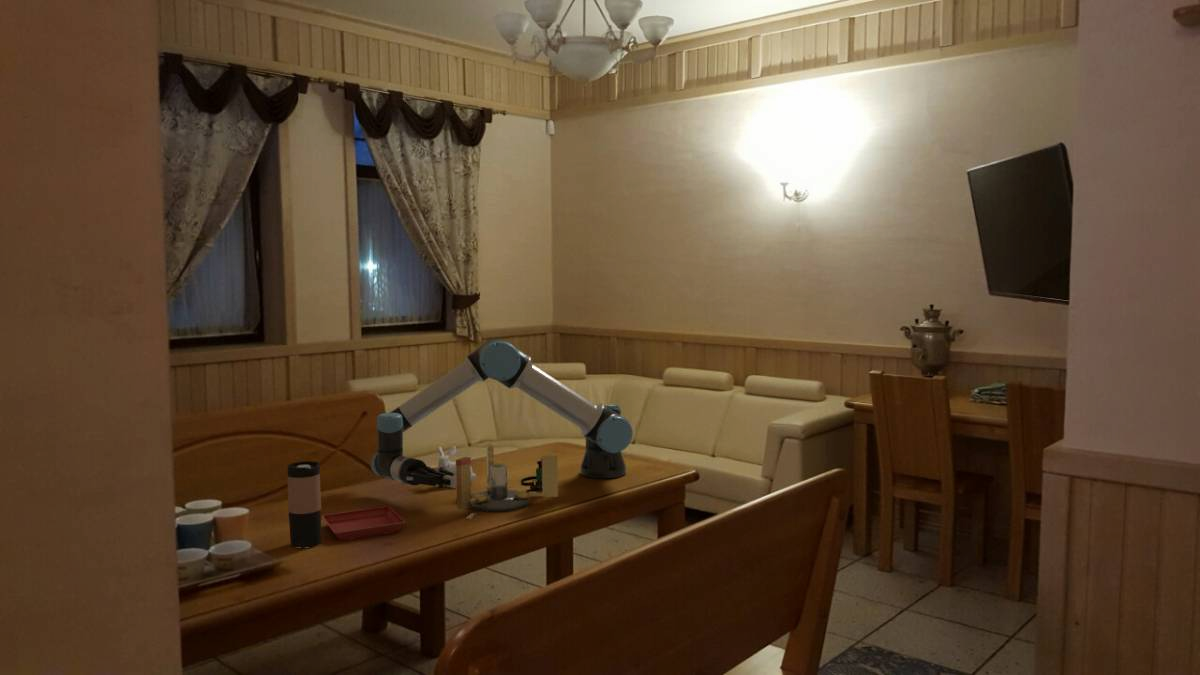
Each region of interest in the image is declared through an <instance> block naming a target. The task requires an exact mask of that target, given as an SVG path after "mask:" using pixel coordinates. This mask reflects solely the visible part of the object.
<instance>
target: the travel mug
mask: <svg viewBox="0 0 1200 675" xmlns="http://www.w3.org/2000/svg"><path fill="white" fill-rule="evenodd" d="M320 474H321V473H320V463H319V462H317V461H309V460H307V461H297V462H291V463H289V464H287V499H288V500H287V503H288V504H287V506H288V508H287V509H288V522H289V523H288V524H289V536H290V537H289V539H290V546H291V547H292V546H293V547H301V548H300V549H306V548H305V547H311V548H313V547H312V546H315V547H317V546H319V545H321V543H322V502H321V501H322V500H321V496H322V495H321V477H320V476H321V475H320ZM318 544H319V545H318ZM316 545H317V546H316ZM293 547H292V548H293Z"/></svg>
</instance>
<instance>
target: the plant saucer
mask: <svg viewBox="0 0 1200 675" xmlns="http://www.w3.org/2000/svg"><path fill="white" fill-rule="evenodd" d="M321 518H322V519H323V520H324V522H325V523H326V524H327V526H328V527H329V529H330V530H331V532H332V533H333V534H334V536H335V537H336V538H337V539H338V540H339V541H345V540H344V539H349V540H352V539H351V538H356V539H359V538H358V537H362V538H366V537H365V536H369V537H372V536H371V535H376V536H379V535H378V534H383V535H386V534H385V533H390V534H394V533H393V532H396V533H398V531H400V530H401V529H402V527H403V526H404V525H405V524H406V520H404V518H402V517H401V516H400V515H399V514H398V513H397V512H396V511H395V510H394V509H393V508H392V507H391V506H390V505H389V506H388V505H385V506H379V507H371V508H365V509H356V510H350V511H345V512H344V511H342V512H335V513H331V514H329V513H328V514H324V515H321Z"/></svg>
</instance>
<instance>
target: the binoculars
mask: <svg viewBox="0 0 1200 675" xmlns="http://www.w3.org/2000/svg"><path fill="white" fill-rule="evenodd" d="M536 464H537V466H538V467H537V468H535V473H536V474H535V476H534V475H533V476H527V477H524V478H522V479H520V485H521V486H525V487H529V489H525V491H528V492H538V491H542V457H541V458H540V460H538V461H536ZM527 481H531V482H527Z"/></svg>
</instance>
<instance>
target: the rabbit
mask: <svg viewBox="0 0 1200 675" xmlns="http://www.w3.org/2000/svg"><path fill="white" fill-rule="evenodd" d="M437 450H438V453H439V457H438V462H437V468H439V467H443V469H445V470H448V471H450V472H452V473H454V477H456V461H450V460H449V458H450V457H452V456H453V455H455V454H456V453H457V446H455V445H453V446H452V447H451V448H450V449H449V450H448V451H447V453H446V454H445V453H444V451H443V448H442V447H441V446H439V447H438V448H437ZM470 470H471V483H472V482H474V481H475V480H476V477H477V474H476V473H474V472H473V467H472V465H471V464H470ZM447 488H449V487H448V486H447Z"/></svg>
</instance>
